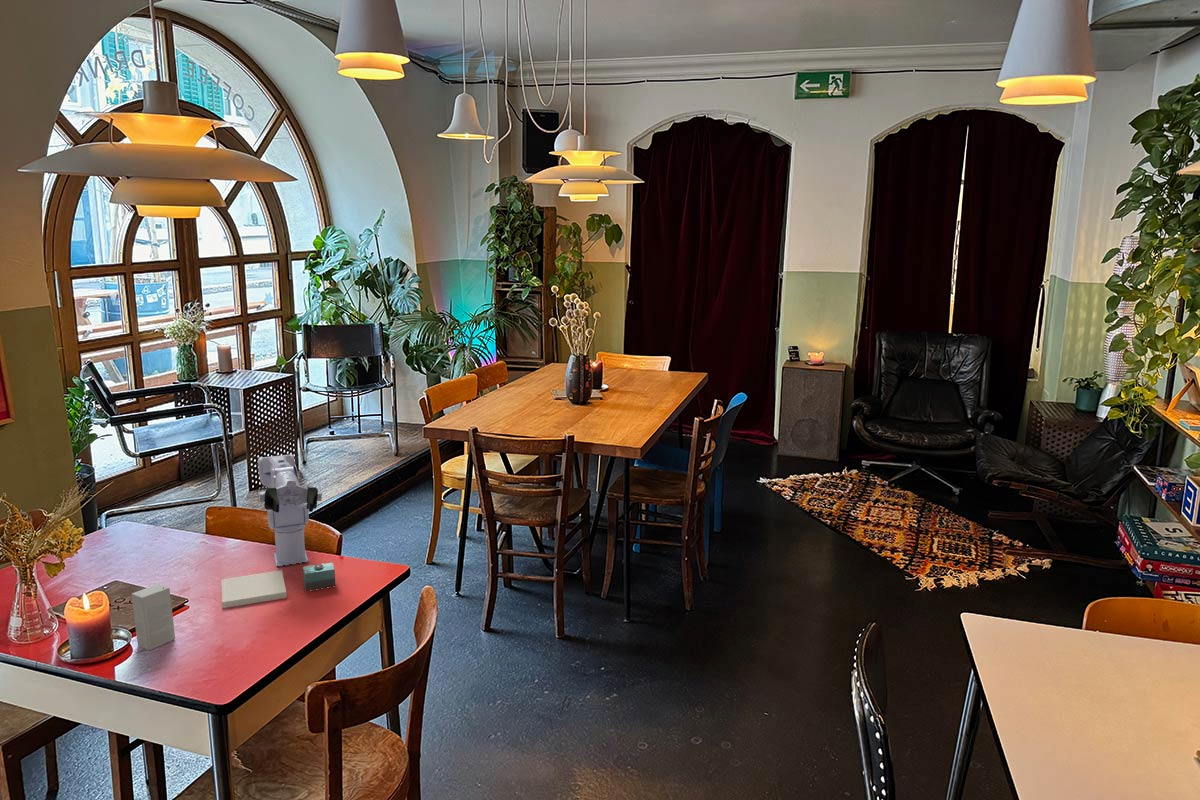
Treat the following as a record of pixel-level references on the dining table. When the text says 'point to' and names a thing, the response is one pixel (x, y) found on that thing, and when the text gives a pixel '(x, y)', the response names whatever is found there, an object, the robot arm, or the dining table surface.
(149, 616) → the skincare box
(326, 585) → the block
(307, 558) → the robot arm
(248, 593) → the stand tile
